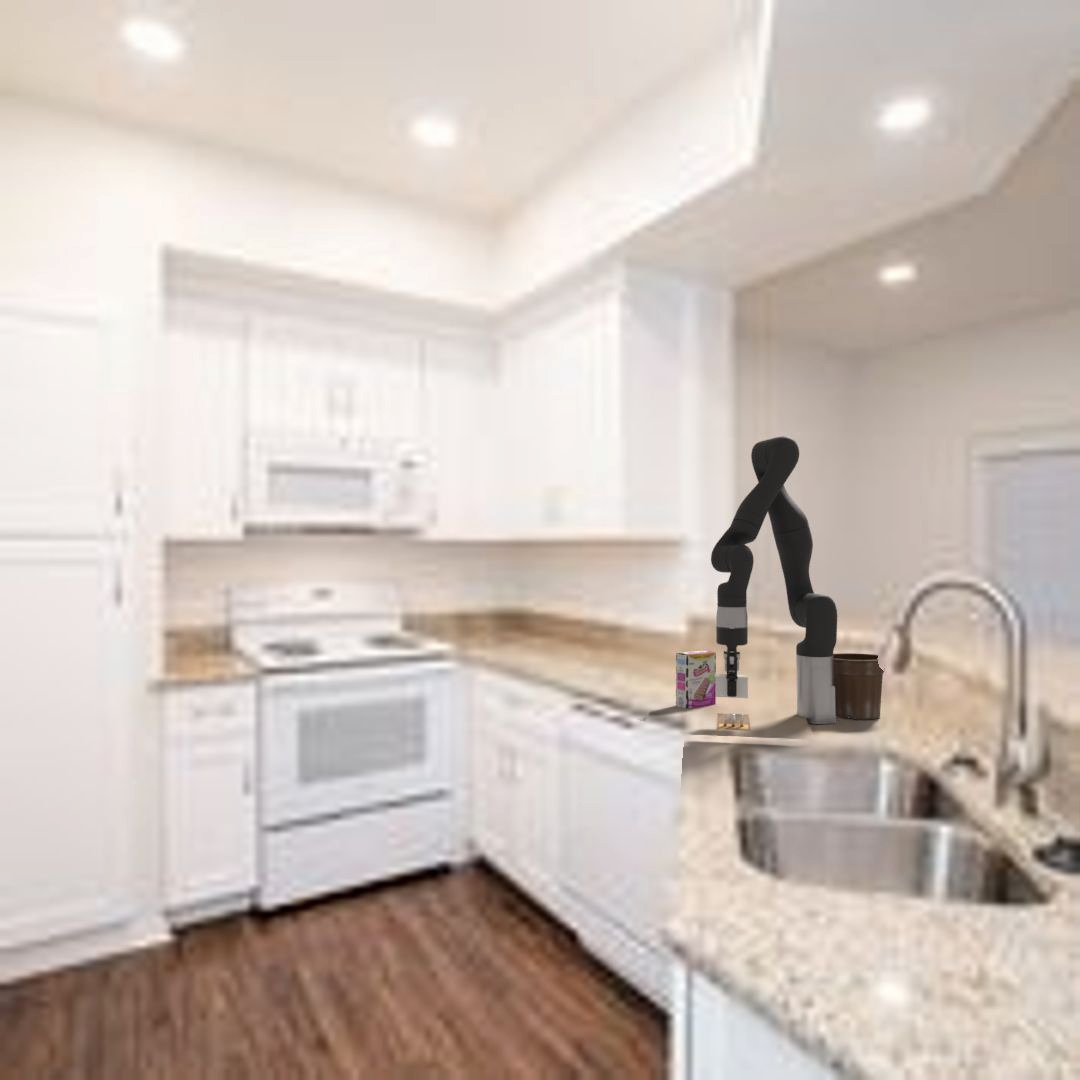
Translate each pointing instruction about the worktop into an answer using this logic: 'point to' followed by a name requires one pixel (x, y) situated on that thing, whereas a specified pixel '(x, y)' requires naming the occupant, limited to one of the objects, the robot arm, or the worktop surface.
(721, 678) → the connector housing
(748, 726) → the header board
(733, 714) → the header pins
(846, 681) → the plant pot
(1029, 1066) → the worktop surface
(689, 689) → the candy bar box
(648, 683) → the worktop surface
